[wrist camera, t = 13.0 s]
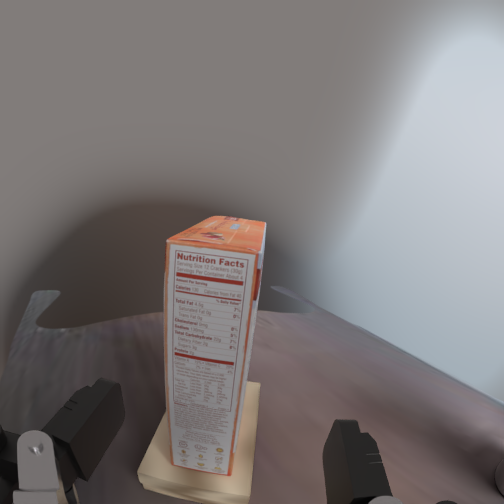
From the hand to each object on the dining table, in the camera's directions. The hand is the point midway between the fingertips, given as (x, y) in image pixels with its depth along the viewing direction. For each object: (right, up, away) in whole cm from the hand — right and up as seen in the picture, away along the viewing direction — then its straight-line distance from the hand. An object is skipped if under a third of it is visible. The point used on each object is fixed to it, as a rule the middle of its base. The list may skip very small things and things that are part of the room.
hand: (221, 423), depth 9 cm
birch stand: (-4, -16, +19) cm, 25 cm away
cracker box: (-3, -12, +18) cm, 22 cm away
